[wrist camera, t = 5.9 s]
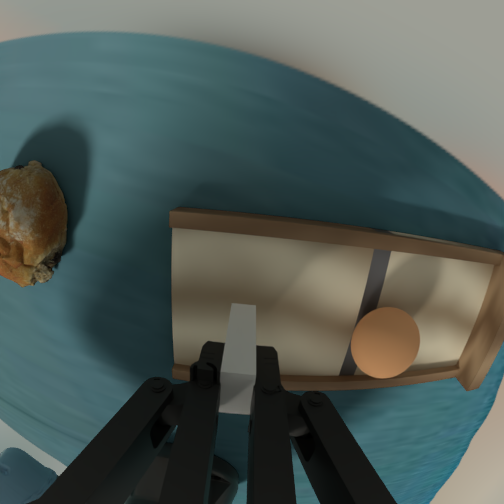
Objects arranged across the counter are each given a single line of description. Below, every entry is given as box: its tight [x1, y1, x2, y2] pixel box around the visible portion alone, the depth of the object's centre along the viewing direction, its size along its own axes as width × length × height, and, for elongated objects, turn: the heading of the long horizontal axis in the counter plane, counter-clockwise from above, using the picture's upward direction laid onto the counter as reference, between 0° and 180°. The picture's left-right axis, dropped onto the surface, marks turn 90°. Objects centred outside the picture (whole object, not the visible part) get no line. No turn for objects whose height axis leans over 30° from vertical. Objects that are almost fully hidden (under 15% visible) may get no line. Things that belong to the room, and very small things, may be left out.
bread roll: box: [0, 160, 68, 287], centre depth 16 cm, size 10×10×8 cm
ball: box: [351, 307, 420, 378], centre depth 17 cm, size 5×5×5 cm
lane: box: [169, 207, 504, 391], centre depth 18 cm, size 13×29×4 cm, turn 84°
